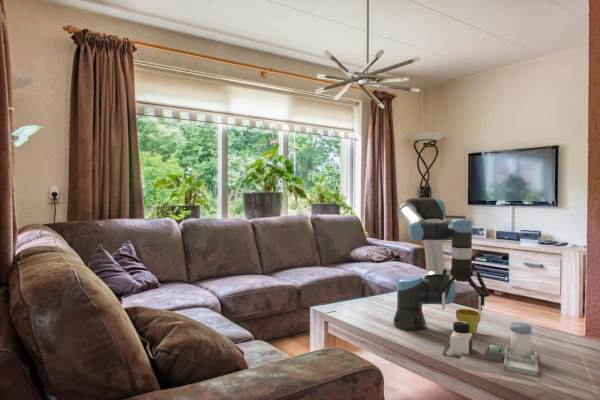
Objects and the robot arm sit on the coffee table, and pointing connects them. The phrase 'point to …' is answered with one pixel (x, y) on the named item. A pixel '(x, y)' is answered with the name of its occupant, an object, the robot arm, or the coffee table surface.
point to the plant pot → (469, 318)
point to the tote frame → (446, 354)
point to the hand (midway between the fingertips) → (461, 311)
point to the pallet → (514, 361)
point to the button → (494, 348)
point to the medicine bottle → (460, 338)
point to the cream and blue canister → (521, 340)
